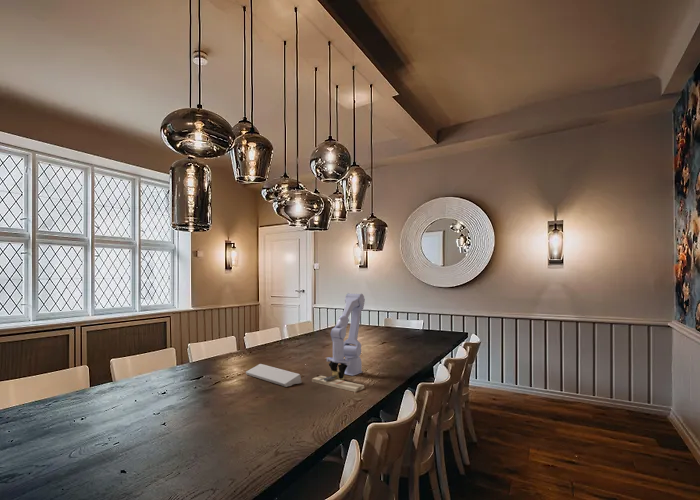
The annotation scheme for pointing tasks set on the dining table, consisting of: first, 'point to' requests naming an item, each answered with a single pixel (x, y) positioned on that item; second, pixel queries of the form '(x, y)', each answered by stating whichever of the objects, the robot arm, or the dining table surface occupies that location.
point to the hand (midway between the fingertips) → (338, 377)
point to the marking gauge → (334, 375)
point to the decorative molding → (274, 375)
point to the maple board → (338, 384)
